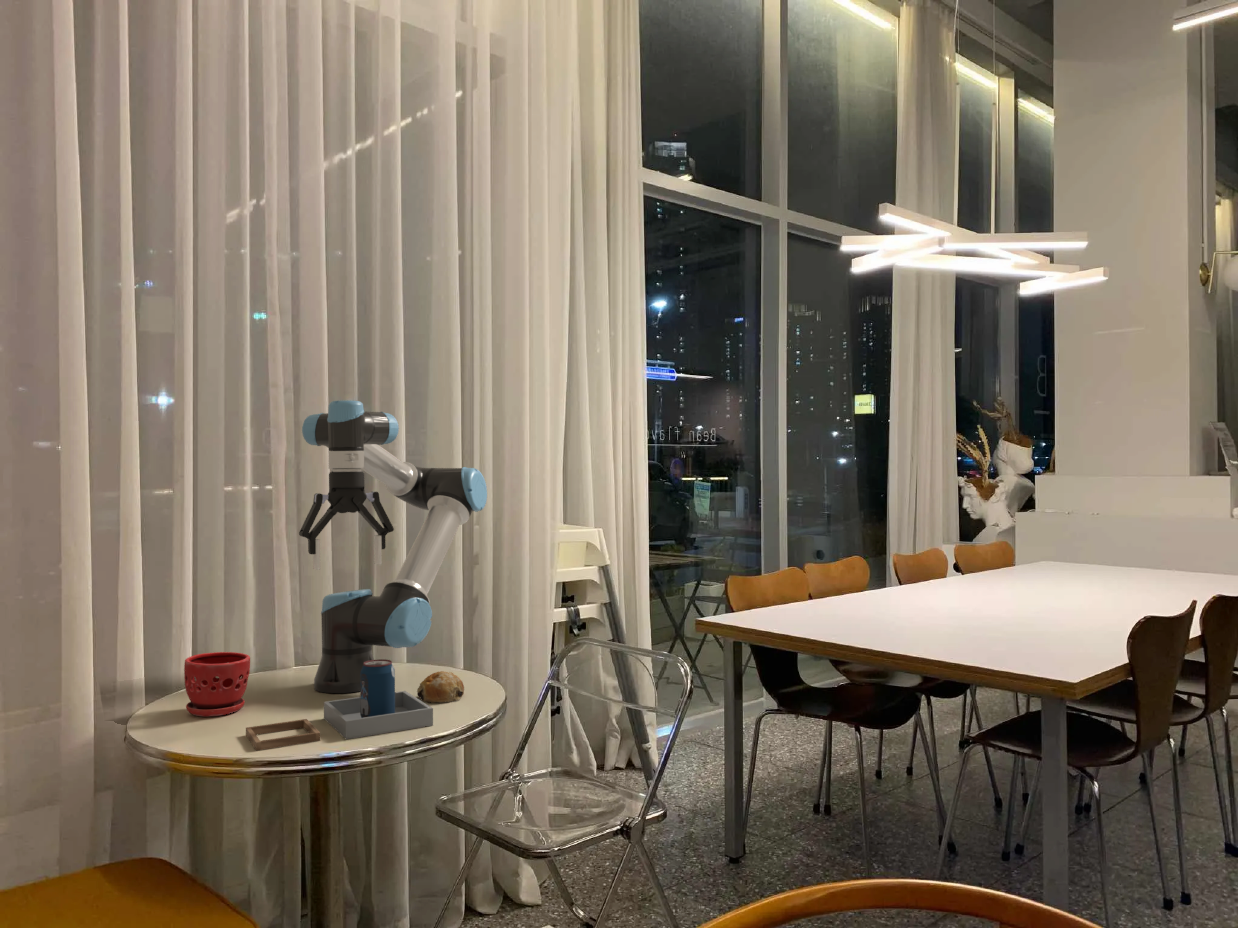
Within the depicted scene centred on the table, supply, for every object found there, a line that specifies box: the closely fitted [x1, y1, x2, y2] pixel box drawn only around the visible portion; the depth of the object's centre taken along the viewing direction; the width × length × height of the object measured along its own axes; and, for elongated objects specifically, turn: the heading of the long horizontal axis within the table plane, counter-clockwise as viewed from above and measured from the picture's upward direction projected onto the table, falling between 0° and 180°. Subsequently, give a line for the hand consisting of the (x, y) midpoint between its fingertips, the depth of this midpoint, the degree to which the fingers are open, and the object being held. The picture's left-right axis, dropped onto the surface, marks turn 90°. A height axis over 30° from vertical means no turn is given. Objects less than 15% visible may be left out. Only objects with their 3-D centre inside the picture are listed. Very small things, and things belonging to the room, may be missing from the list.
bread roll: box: [416, 670, 465, 704], centre depth 203 cm, size 10×10×8 cm
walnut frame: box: [245, 718, 321, 751], centre depth 173 cm, size 12×12×2 cm
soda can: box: [359, 658, 396, 718], centre depth 184 cm, size 7×7×12 cm
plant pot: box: [183, 651, 251, 718], centre depth 192 cm, size 13×13×12 cm
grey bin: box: [323, 690, 434, 740], centre depth 184 cm, size 18×18×4 cm
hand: (348, 566), depth 195 cm, fingers open, 13 cm apart
